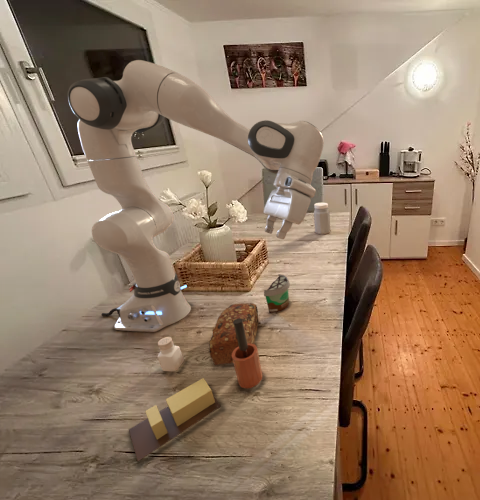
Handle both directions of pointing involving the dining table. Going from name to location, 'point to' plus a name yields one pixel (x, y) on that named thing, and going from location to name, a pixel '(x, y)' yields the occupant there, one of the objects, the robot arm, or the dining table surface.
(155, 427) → the butter slice
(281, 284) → the food container
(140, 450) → the butter board
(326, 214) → the jar
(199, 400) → the butter block
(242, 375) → the crock
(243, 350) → the dark grey rod
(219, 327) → the bread
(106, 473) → the dining table surface
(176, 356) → the pepper shaker
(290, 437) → the dining table surface
